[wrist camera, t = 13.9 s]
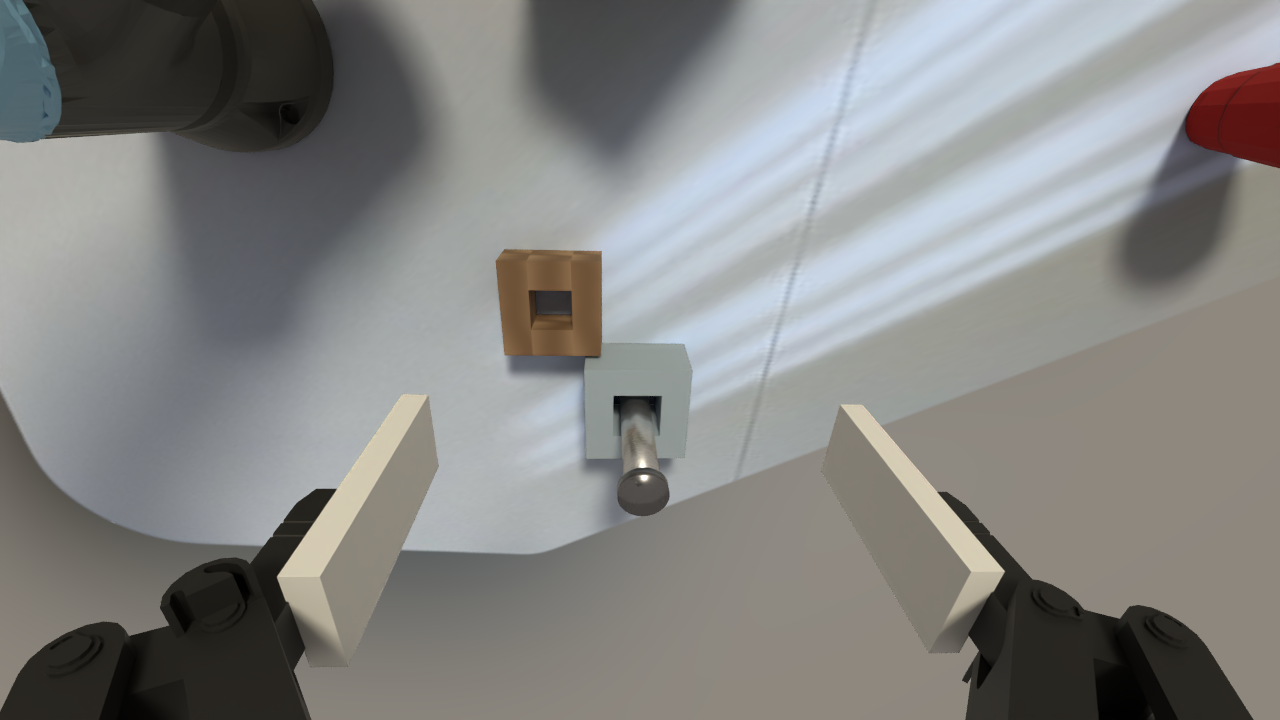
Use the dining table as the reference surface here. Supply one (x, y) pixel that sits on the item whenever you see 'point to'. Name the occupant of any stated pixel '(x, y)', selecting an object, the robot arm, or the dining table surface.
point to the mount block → (550, 273)
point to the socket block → (637, 375)
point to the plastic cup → (1240, 116)
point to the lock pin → (640, 460)
